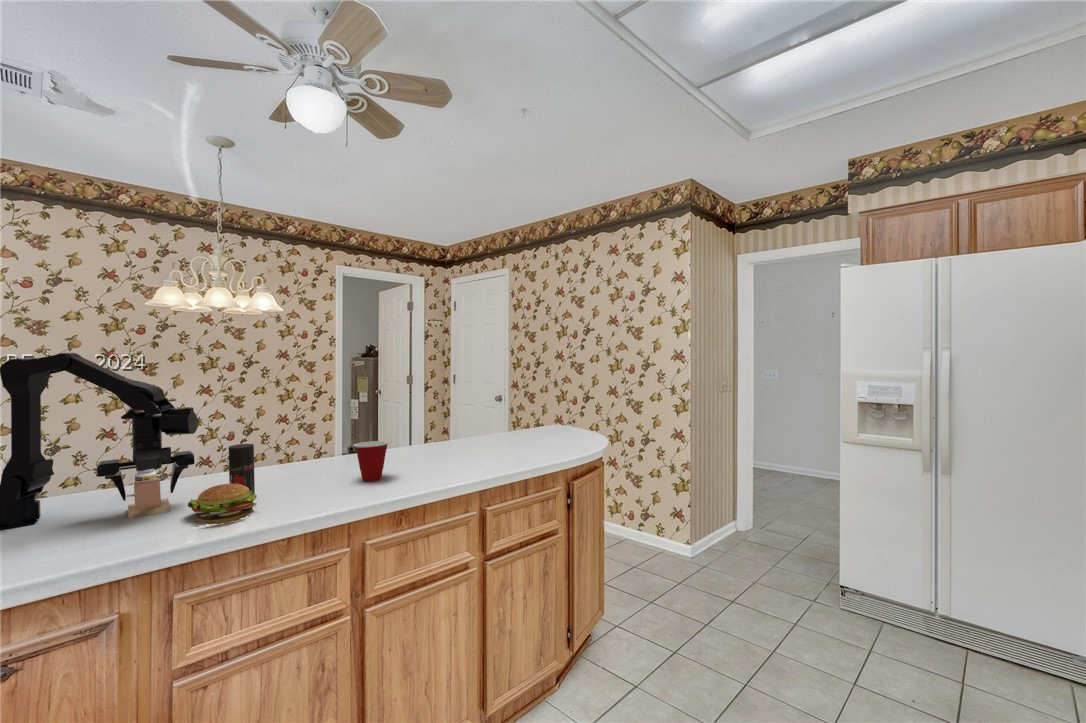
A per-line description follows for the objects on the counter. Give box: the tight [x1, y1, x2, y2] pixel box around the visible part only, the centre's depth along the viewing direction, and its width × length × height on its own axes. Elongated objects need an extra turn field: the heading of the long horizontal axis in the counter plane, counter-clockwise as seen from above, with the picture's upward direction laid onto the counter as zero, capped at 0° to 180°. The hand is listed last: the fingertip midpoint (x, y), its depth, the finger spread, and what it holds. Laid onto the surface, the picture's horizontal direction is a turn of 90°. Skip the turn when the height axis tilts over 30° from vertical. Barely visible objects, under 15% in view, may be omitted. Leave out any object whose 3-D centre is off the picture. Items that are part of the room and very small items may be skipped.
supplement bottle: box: [134, 469, 158, 482], centre depth 136 cm, size 5×5×8 cm
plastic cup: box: [353, 440, 390, 483], centre depth 153 cm, size 11×11×12 cm
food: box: [187, 483, 258, 525], centre depth 120 cm, size 14×14×8 cm
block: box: [133, 477, 162, 510], centre depth 121 cm, size 5×5×6 cm
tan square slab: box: [127, 497, 171, 520], centre depth 121 cm, size 8×8×2 cm
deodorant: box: [228, 443, 256, 495], centre depth 133 cm, size 6×6×15 cm
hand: (148, 496), depth 121 cm, fingers open, 9 cm apart
